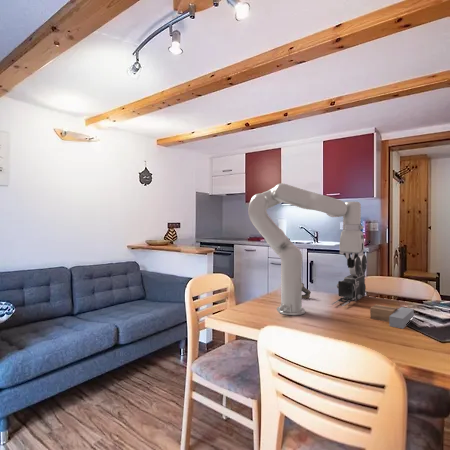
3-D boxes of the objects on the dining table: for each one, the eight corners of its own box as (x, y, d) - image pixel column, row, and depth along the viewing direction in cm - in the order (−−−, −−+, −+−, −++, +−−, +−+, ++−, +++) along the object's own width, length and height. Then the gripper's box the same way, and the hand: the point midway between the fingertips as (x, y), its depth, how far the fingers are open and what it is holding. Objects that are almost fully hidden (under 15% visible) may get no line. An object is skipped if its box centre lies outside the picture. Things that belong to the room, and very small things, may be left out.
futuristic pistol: (287, 306, 179) (279, 290, 179) (312, 295, 177) (303, 278, 177) (288, 307, 176) (279, 291, 177) (312, 296, 174) (304, 279, 175)
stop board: (403, 328, 126) (403, 318, 126) (389, 326, 129) (389, 316, 129) (413, 318, 139) (413, 309, 139) (401, 315, 142) (401, 307, 142)
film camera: (350, 291, 191) (350, 252, 191) (371, 294, 184) (371, 253, 183) (324, 306, 160) (323, 258, 160) (348, 310, 153) (347, 260, 152)
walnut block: (392, 323, 133) (392, 311, 133) (370, 318, 139) (370, 307, 139) (397, 319, 138) (397, 307, 138) (375, 315, 144) (375, 304, 144)
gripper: (371, 228, 145) (370, 268, 145) (339, 227, 155) (338, 265, 156) (365, 228, 140) (364, 270, 140) (332, 227, 150) (332, 266, 150)
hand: (350, 267), depth 148 cm, fingers closed
